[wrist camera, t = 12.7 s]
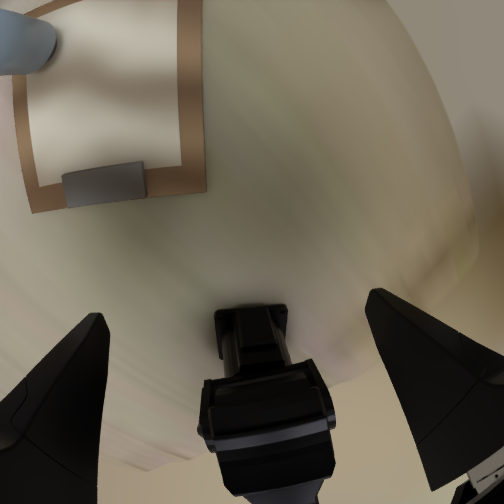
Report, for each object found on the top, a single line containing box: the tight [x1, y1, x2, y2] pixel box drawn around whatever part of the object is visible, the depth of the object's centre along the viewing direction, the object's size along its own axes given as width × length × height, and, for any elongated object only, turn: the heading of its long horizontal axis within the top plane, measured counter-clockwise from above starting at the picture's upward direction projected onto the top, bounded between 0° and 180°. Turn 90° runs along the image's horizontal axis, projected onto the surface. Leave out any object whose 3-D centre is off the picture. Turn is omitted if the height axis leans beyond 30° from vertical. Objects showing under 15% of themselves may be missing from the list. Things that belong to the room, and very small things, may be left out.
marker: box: [0, 9, 57, 76], centre depth 7 cm, size 4×4×9 cm
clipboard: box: [12, 0, 206, 214], centre depth 14 cm, size 16×14×1 cm
